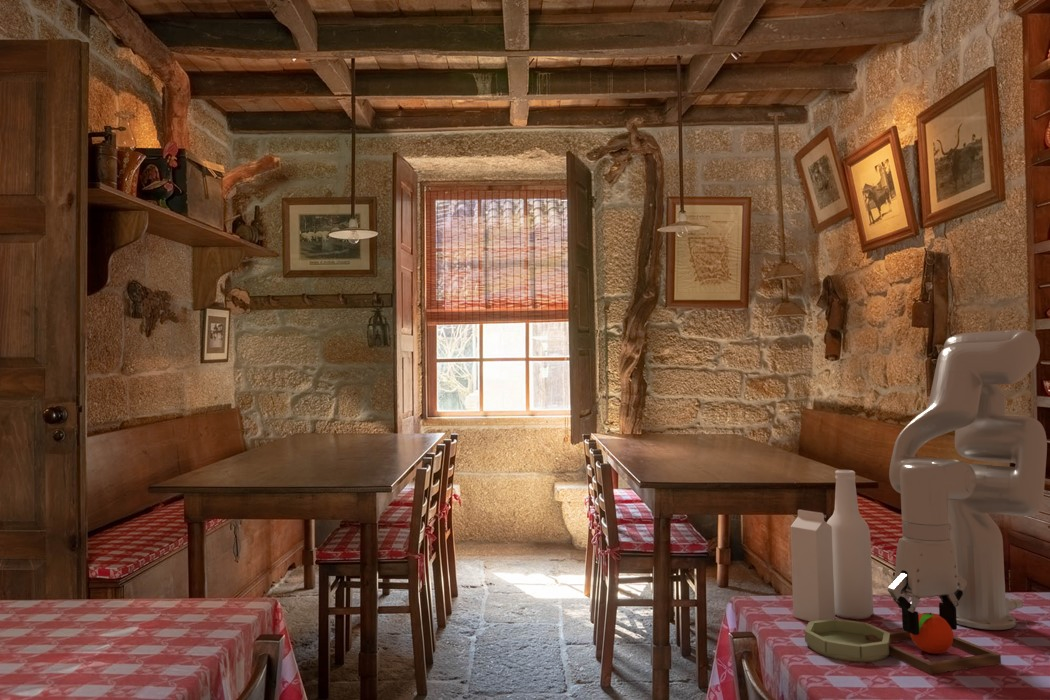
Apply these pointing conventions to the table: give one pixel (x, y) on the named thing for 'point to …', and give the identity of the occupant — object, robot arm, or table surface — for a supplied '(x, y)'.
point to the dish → (847, 640)
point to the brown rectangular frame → (981, 659)
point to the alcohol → (850, 552)
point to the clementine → (933, 634)
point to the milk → (812, 567)
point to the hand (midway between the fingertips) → (929, 629)
